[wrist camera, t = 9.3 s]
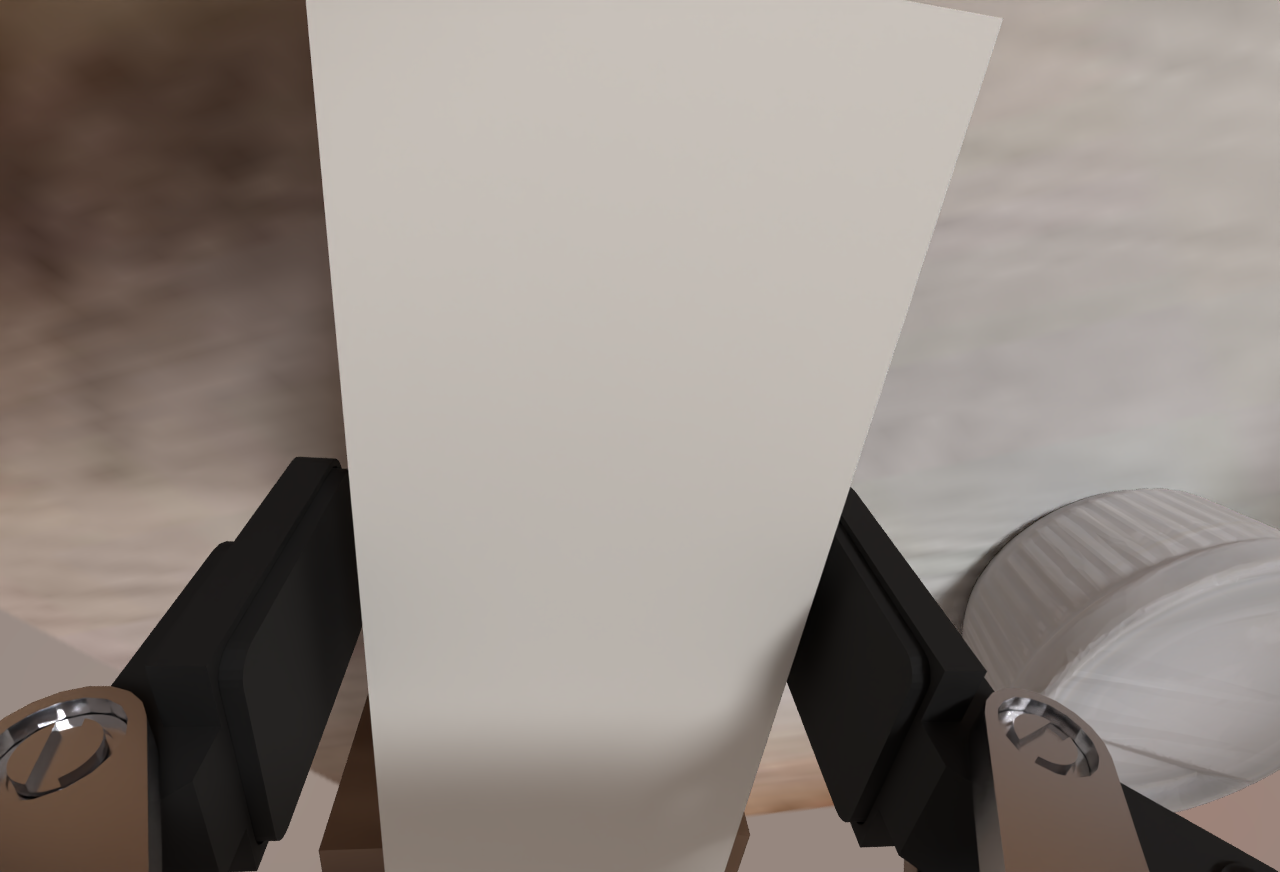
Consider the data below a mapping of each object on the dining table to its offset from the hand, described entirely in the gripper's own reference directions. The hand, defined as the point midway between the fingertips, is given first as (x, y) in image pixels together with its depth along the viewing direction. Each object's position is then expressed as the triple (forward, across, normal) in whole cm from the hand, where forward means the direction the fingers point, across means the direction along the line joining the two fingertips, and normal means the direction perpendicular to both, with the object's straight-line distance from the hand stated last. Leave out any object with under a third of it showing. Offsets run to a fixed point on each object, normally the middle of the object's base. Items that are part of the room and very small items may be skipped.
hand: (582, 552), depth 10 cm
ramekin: (+8, -19, +7) cm, 22 cm away
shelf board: (+3, 0, 0) cm, 3 cm away
